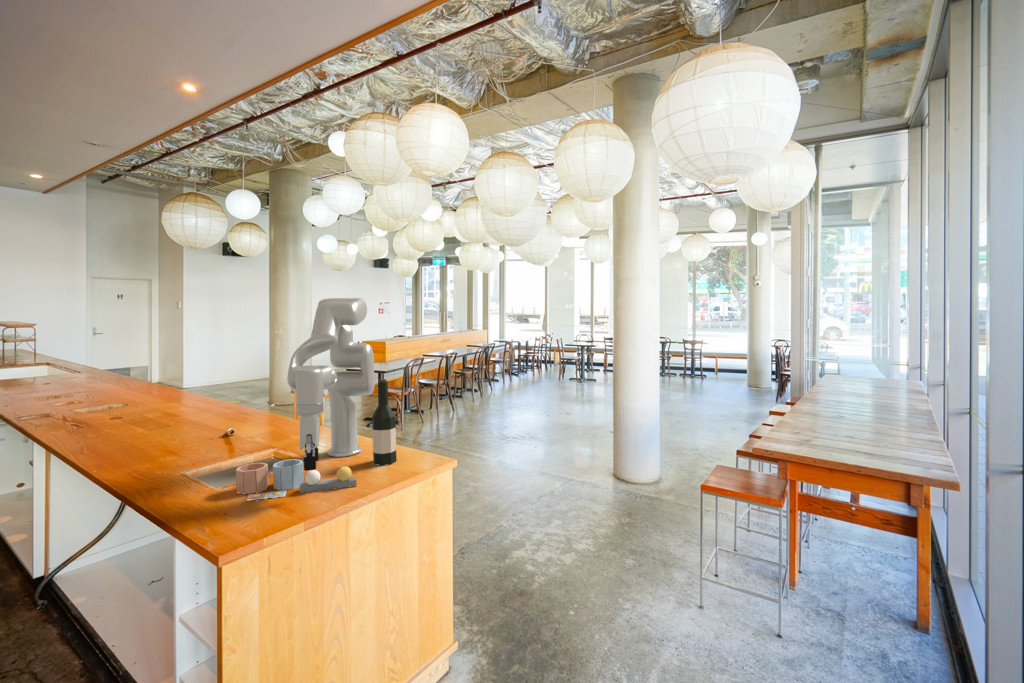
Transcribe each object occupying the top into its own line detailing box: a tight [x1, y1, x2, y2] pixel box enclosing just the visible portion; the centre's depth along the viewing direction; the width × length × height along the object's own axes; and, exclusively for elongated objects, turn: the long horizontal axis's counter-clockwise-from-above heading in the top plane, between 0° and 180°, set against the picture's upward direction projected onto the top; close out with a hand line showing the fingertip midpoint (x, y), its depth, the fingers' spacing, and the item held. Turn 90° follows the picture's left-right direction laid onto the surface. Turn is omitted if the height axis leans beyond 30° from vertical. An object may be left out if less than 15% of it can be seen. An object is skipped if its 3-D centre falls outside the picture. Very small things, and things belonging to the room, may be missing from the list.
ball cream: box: [304, 469, 321, 485], centre depth 141 cm, size 4×4×4 cm
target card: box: [246, 490, 287, 500], centre depth 137 cm, size 4×10×1 cm, turn 109°
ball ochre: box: [336, 466, 352, 481], centre depth 144 cm, size 4×4×4 cm
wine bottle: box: [371, 378, 397, 466], centre depth 168 cm, size 8×8×30 cm
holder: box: [299, 476, 357, 494], centre depth 143 cm, size 3×16×2 cm, turn 109°
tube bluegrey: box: [272, 458, 305, 491], centre depth 146 cm, size 8×8×7 cm
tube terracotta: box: [235, 462, 270, 494], centre depth 142 cm, size 8×8×7 cm
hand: (311, 465), depth 141 cm, fingers open, 9 cm apart
